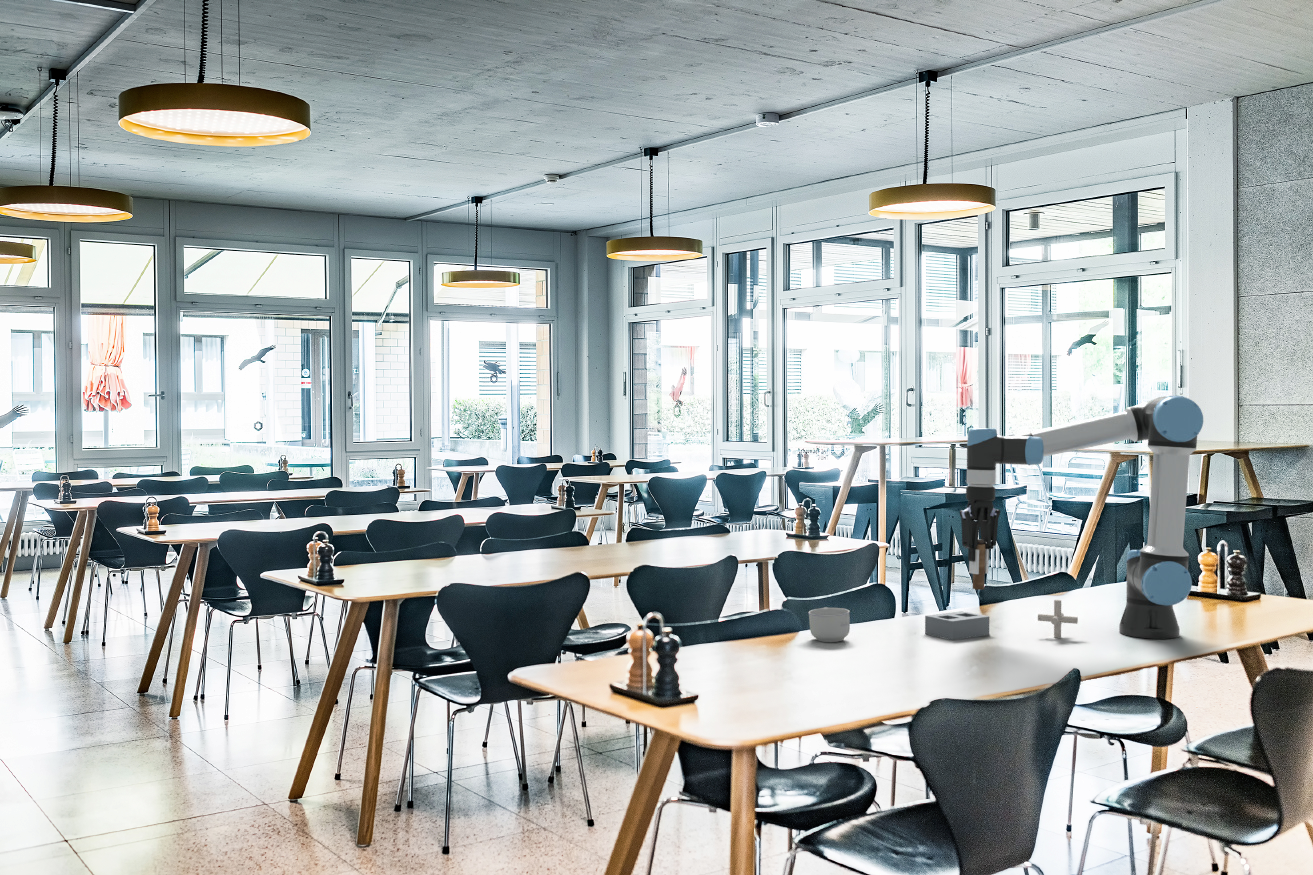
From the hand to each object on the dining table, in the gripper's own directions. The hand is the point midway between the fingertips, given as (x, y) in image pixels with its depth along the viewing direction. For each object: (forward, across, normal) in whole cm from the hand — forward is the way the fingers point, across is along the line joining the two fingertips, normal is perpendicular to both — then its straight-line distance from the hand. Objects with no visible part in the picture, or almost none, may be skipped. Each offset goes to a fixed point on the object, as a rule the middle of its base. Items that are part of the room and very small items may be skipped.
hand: (978, 572), depth 313 cm
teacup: (+18, +35, -19) cm, 44 cm away
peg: (+4, 0, 0) cm, 4 cm away
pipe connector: (+17, -19, +11) cm, 28 cm away
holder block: (+18, +1, -6) cm, 19 cm away
